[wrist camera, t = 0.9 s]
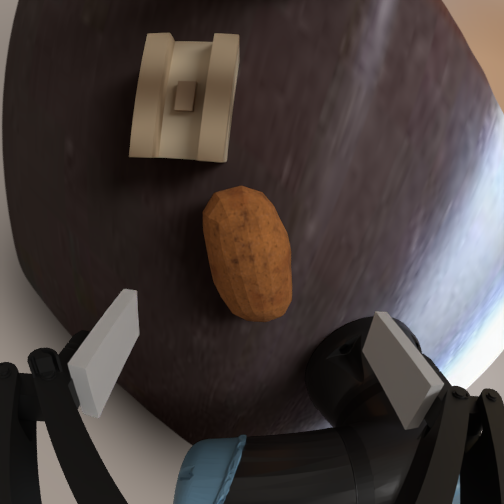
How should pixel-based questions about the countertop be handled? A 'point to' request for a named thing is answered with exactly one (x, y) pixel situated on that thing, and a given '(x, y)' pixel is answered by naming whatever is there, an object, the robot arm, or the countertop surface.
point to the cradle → (185, 98)
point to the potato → (248, 253)
